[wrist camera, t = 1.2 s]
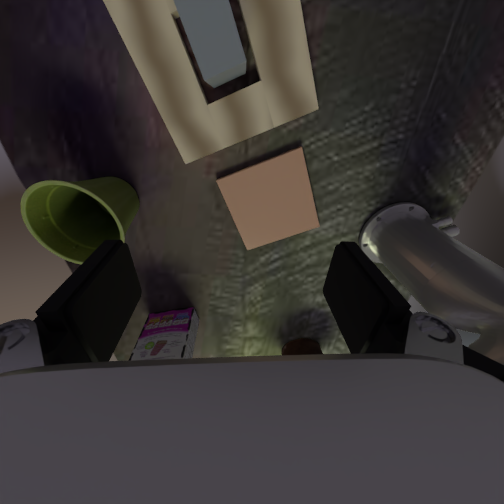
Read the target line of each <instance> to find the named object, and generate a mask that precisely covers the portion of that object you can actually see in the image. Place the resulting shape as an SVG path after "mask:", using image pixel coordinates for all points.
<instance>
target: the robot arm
mask: <svg viewBox="0 0 504 504" xmlns="http://www.w3.org/2000/svg"><path fill="white" fill-rule="evenodd" d="M452 222H453V220H452V218H451V217H450V216H448V217H444V218H441V219H439V220H433V219H431V218H430V216H429V214H428V212H427V211H426V210H425V209H424V208H422V207H421V206H419V205H417V204H415V203H410V202H400V203H395V204H392V205H389V206H387V207H385V208H383V209H381V210H379V211H378V212H376V213H375V214H374V215H373V216H372V217H371V218H370V219H369V220H368V221H367V222H366V223H365V225H364V227H363V228H362V231H361V233H360V237H359V246H360V247H359V246H358V245H357V244H356V243H355V242H340V244H339V245H336V247H335V250H334V253H333V257H332V260H331V263H330V267H329V270H328V274H327V277H326V280H325V284H324V287H323V294H324V297H325V299H326V301H327V303H328V305H329V307H330V309H331V312H332V314H333V316H334V318H335V320H336V322H337V324H338V327H339V329H340V331H341V333H342V335H343V337H344V339H345V342H346V344H347V346H348V348H349V350H350V352H351V354H317V355H279V356H247V357H216V358H187V359H160V360H133V361H109V360H110V358H111V356H112V354H113V352H114V350H115V348H116V346H117V344H118V342H119V340H120V338H121V336H122V334H123V332H124V330H125V328H126V326H127V324H128V322H129V320H130V318H131V316H132V313H133V311H134V309H135V307H136V305H137V303H138V301H139V299H140V297H141V287H140V283H139V280H138V277H137V274H136V270H135V267H134V264H133V260H132V257H131V254H130V251H129V247H128V245H127V244H126V243H123V241H122V240H105V241H104V242H103V243H102V244H101V245H100V246H99V247H98V248H97V249H96V250H95V251H94V252H93V253H92V254H91V255H90V256H89V257H88V258H87V259H86V260H85V261H84V262H83V263H82V264H81V265H80V266H79V267H78V268H77V269H76V270H75V272H74V273H73V274H72V275H71V276H70V277H69V278H68V279H67V280H66V281H65V282H64V283H63V284H62V285H61V286H60V287H59V288H58V289H57V290H56V291H55V292H54V293H53V294H52V295H51V296H50V297H49V298H48V299H47V301H46V302H45V303H44V304H43V305H42V306H41V307H40V308H39V309H38V310H37V311H36V313H37V315H38V316H37V317H36V318H35V320H33V321H32V320H29V319H18V320H12V321H9V322H6V323H3V324H1V325H0V504H504V269H503V268H501V267H500V266H498V265H497V264H495V263H493V262H492V261H490V260H488V259H487V258H485V257H483V256H482V255H480V254H479V253H477V252H475V251H474V250H472V249H470V248H469V247H467V246H465V245H464V244H462V243H460V242H459V241H457V240H455V239H454V238H452V236H456V235H458V234H459V232H460V231H459V228H458V227H457V226H456V225H452V226H448V227H445V228H442V229H440V230H439V229H438V228H439V227H440V226H445V225H448V224H451V223H452ZM372 261H374V262H377V263H383V264H384V265H385V266H386V267H387V268H388V269H389V270H390V271H391V273H392V274H393V275H394V276H395V277H396V278H397V279H398V280H399V281H400V282H401V284H402V285H403V286H404V287H405V288H406V289H407V290H408V291H409V292H410V293H411V295H412V296H413V297H414V298H415V299H416V300H417V301H418V302H419V303H420V304H421V306H422V307H423V308H424V309H425V310H426V311H427V312H428V313H425V312H416V313H414V314H412V312H411V311H410V310H409V309H410V307H411V305H410V304H409V303H408V302H407V301H406V300H405V298H404V297H403V296H402V295H401V294H400V293H399V292H398V290H397V289H396V288H395V287H394V286H393V285H392V284H391V282H390V281H389V280H388V279H387V278H386V277H385V276H384V274H383V273H382V272H381V271H380V270H379V269H378V268H377V266H376V265H375V264H374V263H373V262H372ZM456 329H459V330H463V331H468V332H472V333H477V334H481V335H480V337H479V339H477V340H476V341H475V342H474V343H472V344H470V345H469V347H466V346H464V345H462V339H461V336H460V334H459V333H458V331H457V330H456Z"/></svg>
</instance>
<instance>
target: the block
mask: <svg viewBox="0 0 504 504" xmlns="http://www.w3.org/2000/svg"><path fill="white" fill-rule="evenodd" d="M174 3H175V6H176V8H177V11H178V13H179V16H180V19H181V21H182V24H183V26H184V29H185V32H186V34H187V37H188V39H189V42H190V45H191V47H192V50H193V52H194V55H195V58H196V60H197V63H198V65H199V68H200V71H201V73H202V76H203V78H204V81H205V82H207V83H208V84H209V85H211V86H212V87H213V88H216V87H218V86H220V85H222V84H224V83H227V82H229V81H231V80H233V79H235V78H237V77H239V76H242V75H244V74H246V58H245V54H244V51H243V47H242V44H241V41H240V37H239V34H238V30H237V27H236V23H235V20H234V17H233V13H232V10H231V6H230V3H229V0H174Z"/></svg>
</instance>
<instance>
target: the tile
mask: <svg viewBox="0 0 504 504" xmlns="http://www.w3.org/2000/svg"><path fill="white" fill-rule="evenodd" d="M216 181H217V184H218V186H219V188H220V190H221V193H222V195H223V197H224V199H225V201H226V204H227V206H228V208H229V210H230V213H231V215H232V217H233V219H234V221H235V224H236V226H237V228H238V230H239V233H240V235H241V237H242V239H243V242H244V244H245V246H246V248H247V250H250V249H253V248H256V247H259V246H262V245H265V244H268V243H271V242H274V241H277V240H280V239H283V238H286V237H289V236H292V235H295V234H298V233H301V232H304V231H308V230H311V229H314V228H317V227H320V226H319V222H318V217H317V213H316V208H315V204H314V199H313V195H312V190H311V186H310V181H309V177H308V172H307V168H306V163H305V159H304V154H303V150H302V147H301V146H300V147H298V148H295V149H292V150H290V151H287V152H285V153H282V154H280V155H277V156H275V157H272V158H270V159H267V160H264V161H262V162H259V163H257V164H254V165H252V166H249V167H247V168H244V169H241V170H239V171H236V172H234V173H231V174H229V175H226V176H224V177H221V178H219V179H217V180H216Z"/></svg>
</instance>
